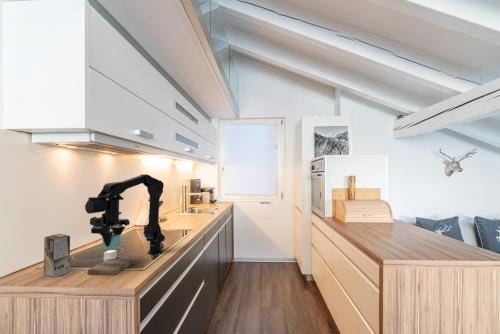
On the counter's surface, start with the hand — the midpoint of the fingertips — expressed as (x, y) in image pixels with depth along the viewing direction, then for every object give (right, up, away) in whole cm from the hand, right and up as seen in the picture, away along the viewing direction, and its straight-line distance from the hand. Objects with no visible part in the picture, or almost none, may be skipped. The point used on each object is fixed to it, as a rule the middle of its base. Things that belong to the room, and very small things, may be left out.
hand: (111, 244), depth 108 cm
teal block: (0, -1, 0) cm, 1 cm away
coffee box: (-22, -11, -5) cm, 25 cm away
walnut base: (0, -11, 0) cm, 11 cm away
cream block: (-8, -12, +12) cm, 19 cm away
